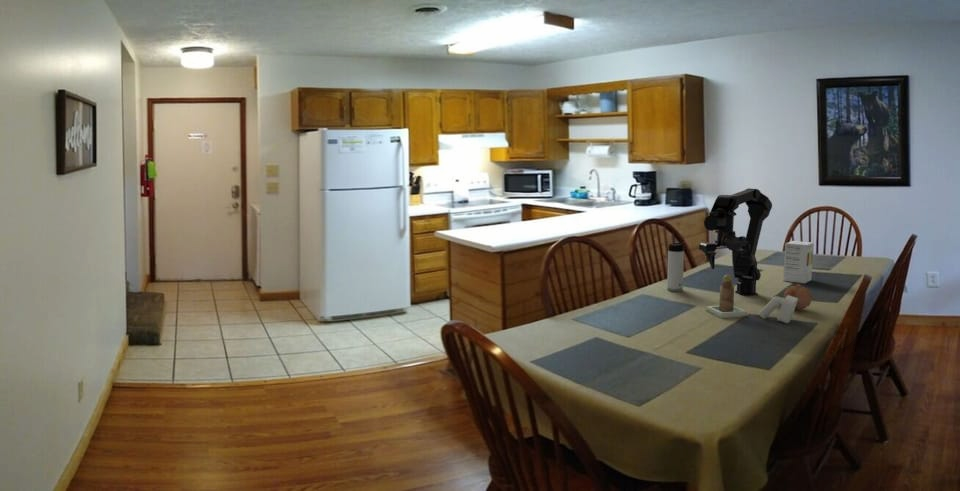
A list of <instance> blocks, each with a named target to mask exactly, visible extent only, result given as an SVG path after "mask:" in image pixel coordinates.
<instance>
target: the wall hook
mask: <svg viewBox="0 0 960 491" xmlns="http://www.w3.org/2000/svg"><path fill="white" fill-rule="evenodd" d="M797 301H798V298H795V297H792V296H789V295H788V296H787V297H786V298H785V299H784V298H783V300H782V298H781V297H780V296H774V297H772V299H770V301H768V303H767V304H766V305H765V306H763V308H761V310H760V311H759V312H758V315H759V317H761V318H762V319H764V320H766V318H768V317H769V316H771V314H772V313H773V312H774V311H775V310H776V309H777V308H778V307H779V306H781V307H780V310H779V313H778V316H777V319H776V320H777V321H778V322H782V323H784V324H787V323H788V324H789V323H790V321H791V320H792V318H793V316H794V313H795V311H796V310H795V307H796V304H797Z"/></svg>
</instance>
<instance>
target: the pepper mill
mask: <svg viewBox="0 0 960 491" xmlns="http://www.w3.org/2000/svg"><path fill="white" fill-rule="evenodd" d="M734 302H735V286H734V285H733V279H732V276H731V275H730V274H725V275H723V277H722V282H721V285H720V286H719V305H718V306H719V311H721V312H733V308H734V306H735V305H734Z"/></svg>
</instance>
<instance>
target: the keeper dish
mask: <svg viewBox="0 0 960 491" xmlns="http://www.w3.org/2000/svg"><path fill="white" fill-rule="evenodd" d="M705 312H707V313H710V314H711V315H714V316H716V317H718V318H720V319H729V318H741V317H747V316H748V311H747V310H746V309H745V310H744V309H742V308H740V307H738V306H735V305H734V308H733V312H721V311H719V305H710V306H709V305H708V306H706V310H705Z"/></svg>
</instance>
